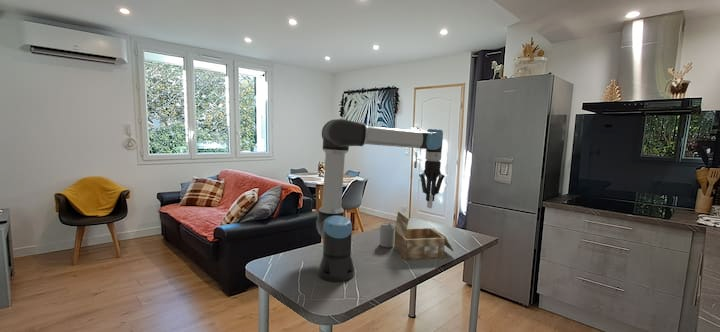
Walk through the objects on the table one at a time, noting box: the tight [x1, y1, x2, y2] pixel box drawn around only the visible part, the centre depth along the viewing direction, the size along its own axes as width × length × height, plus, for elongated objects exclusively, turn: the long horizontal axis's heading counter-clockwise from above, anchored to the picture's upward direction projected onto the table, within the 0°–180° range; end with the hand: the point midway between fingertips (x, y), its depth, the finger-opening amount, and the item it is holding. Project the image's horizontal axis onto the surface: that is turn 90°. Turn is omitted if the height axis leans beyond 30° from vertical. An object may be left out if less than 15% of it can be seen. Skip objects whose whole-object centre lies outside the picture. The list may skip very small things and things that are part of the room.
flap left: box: [394, 211, 410, 238], centre depth 157 cm, size 9×14×1 cm
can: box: [379, 221, 395, 248], centre depth 169 cm, size 8×8×12 cm
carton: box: [393, 227, 446, 261], centre depth 160 cm, size 20×17×10 cm
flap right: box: [431, 228, 455, 252], centre depth 163 cm, size 9×14×1 cm
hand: (429, 207), depth 160 cm, fingers closed
